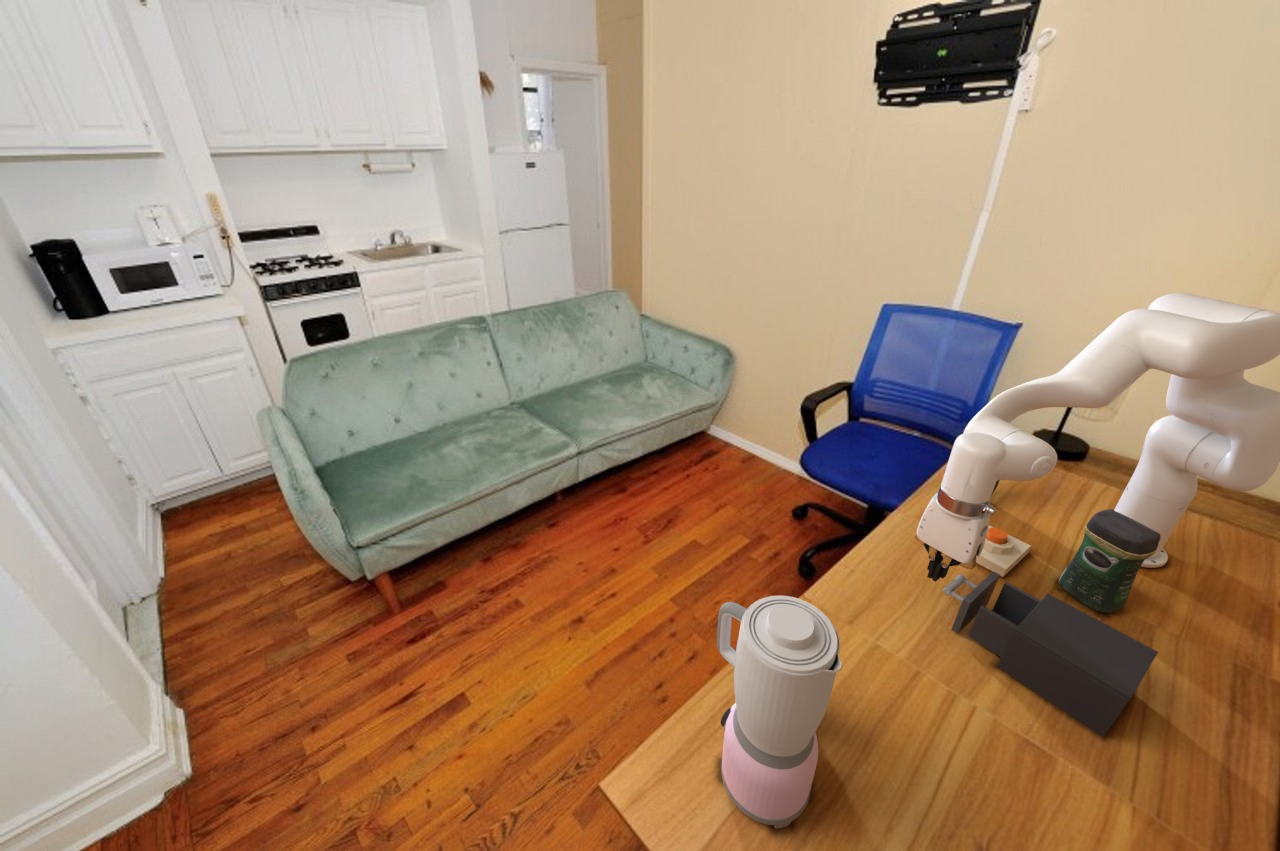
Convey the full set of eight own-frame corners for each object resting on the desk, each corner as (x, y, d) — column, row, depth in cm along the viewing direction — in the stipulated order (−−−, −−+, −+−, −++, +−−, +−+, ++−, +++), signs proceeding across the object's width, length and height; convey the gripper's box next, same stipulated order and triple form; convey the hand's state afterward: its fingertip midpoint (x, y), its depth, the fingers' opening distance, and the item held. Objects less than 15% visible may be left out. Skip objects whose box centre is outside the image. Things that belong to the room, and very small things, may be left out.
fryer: (997, 667, 86) (1015, 628, 81) (1028, 630, 92) (1047, 593, 88) (1103, 737, 75) (1131, 697, 71) (1130, 691, 82) (1158, 651, 77)
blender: (826, 780, 71) (870, 622, 56) (779, 854, 64) (816, 696, 48) (734, 704, 81) (751, 553, 66) (685, 761, 74) (690, 605, 58)
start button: (990, 531, 111) (992, 525, 110) (1008, 540, 109) (1011, 534, 108) (982, 538, 109) (985, 531, 108) (1000, 547, 107) (1003, 540, 106)
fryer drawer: (928, 614, 95) (939, 584, 91) (958, 587, 101) (969, 558, 97) (1035, 685, 82) (1053, 653, 78) (1063, 649, 88) (1081, 618, 84)
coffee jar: (1129, 608, 96) (1176, 533, 88) (1100, 619, 94) (1145, 543, 85) (1076, 573, 104) (1114, 501, 96) (1049, 583, 102) (1085, 510, 94)
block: (979, 529, 117) (984, 515, 115) (1027, 553, 110) (1034, 539, 108) (953, 550, 111) (958, 536, 109) (1002, 577, 104) (1009, 562, 102)
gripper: (1018, 513, 85) (985, 591, 94) (931, 473, 96) (908, 547, 105) (998, 530, 82) (965, 610, 90) (909, 487, 93) (888, 562, 101)
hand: (935, 576), depth 98 cm, fingers closed
